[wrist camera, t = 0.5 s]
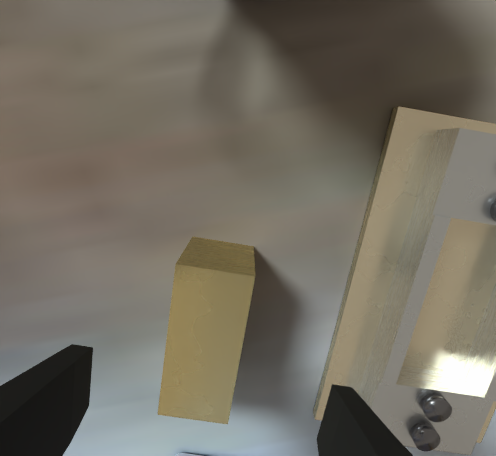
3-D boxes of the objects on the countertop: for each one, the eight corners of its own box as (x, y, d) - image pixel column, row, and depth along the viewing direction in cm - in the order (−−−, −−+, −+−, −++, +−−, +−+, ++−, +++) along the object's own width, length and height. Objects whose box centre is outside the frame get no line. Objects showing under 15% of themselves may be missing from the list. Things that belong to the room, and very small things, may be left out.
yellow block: (232, 364, 20) (227, 424, 16) (177, 356, 20) (157, 414, 16) (253, 245, 18) (255, 276, 14) (193, 236, 18) (175, 264, 14)
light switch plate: (474, 434, 21) (509, 480, 19) (312, 411, 21) (323, 454, 18) (597, 144, 17) (669, 144, 14) (393, 107, 16) (424, 99, 13)
